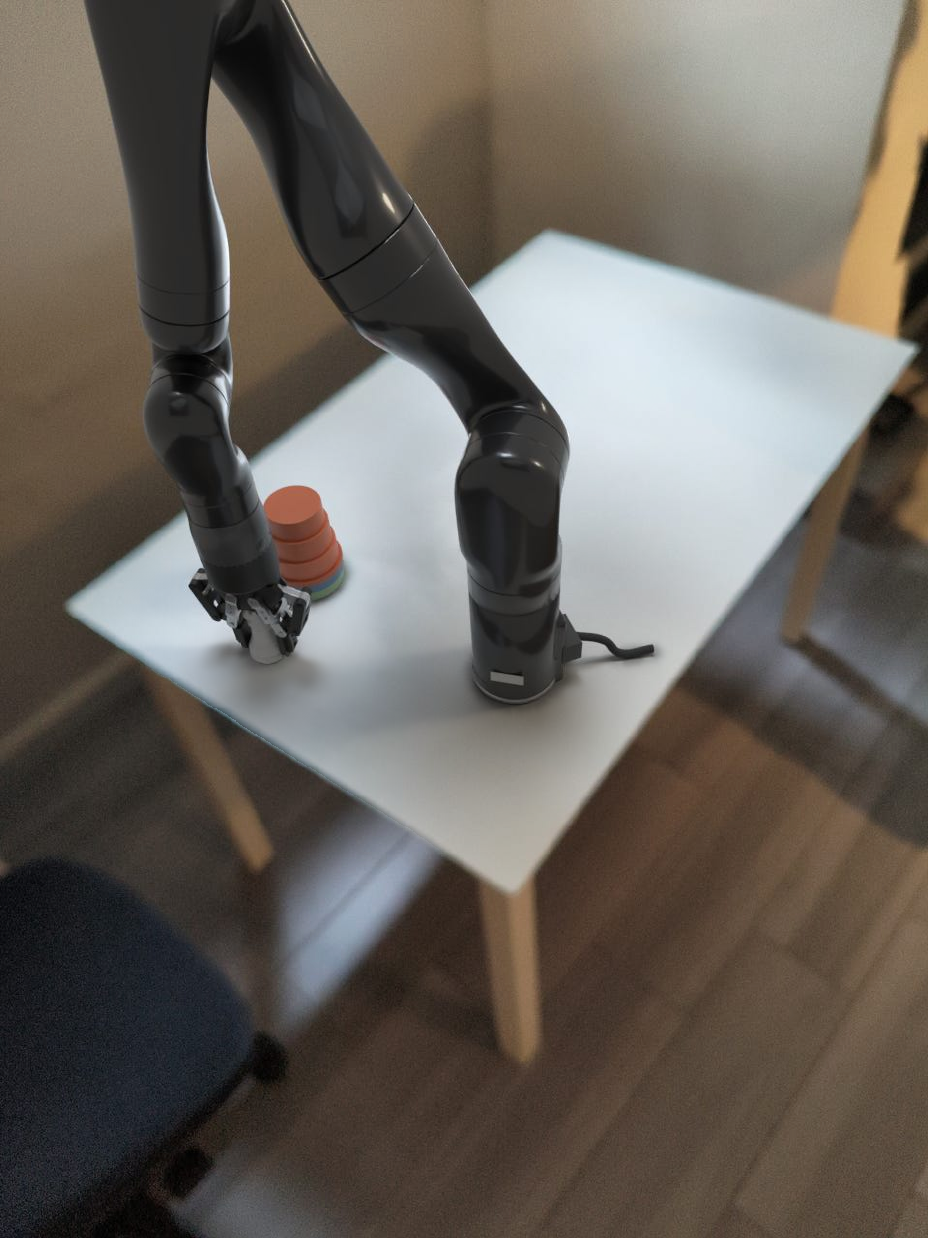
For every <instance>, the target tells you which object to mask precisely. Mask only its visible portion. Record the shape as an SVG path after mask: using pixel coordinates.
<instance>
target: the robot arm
mask: <svg viewBox="0 0 928 1238" xmlns="http://www.w3.org/2000/svg"><path fill="white" fill-rule="evenodd" d="M82 1H83V6H84V10H85V14H86V19H87V23H88V27H89V32H90V36H91V39H92V43H93V47H94V50H95V54H96V59H97V62H98V66H99V71H100V74H101V78H102V82H103V86H104V90H105V95H106V99H107V103H108V108H109V113H110V118H111V122H112V126H113V131H114V135H115V139H116V145H117V150H118V154H119V158H120V163H121V167H122V174H123V179H124V184H125V189H126V190H125V191H126V196H127V203H128V210H129V218H130V226H131V228H130V229H131V236H132V246H133V259H134V271H135V272H134V273H135V282H136V293H137V294H136V295H137V306H138V313H139V319H140V323H141V327H142V329H143V332H144V334H145V335H146V337H147V338H148V339H149V341H150V352H151V354H150V355H151V356H150V357H151V358H150V359H151V362H150V363H151V364H150V365H151V366H150V375H149V380H148V384H147V387H146V392H145V395H144V399H143V403H142V409H141V411H142V412H141V414H142V415H141V417H142V418H141V419H142V425H143V429H144V433H145V437H146V439H147V443H148V444H149V447H150V448H151V450H152V453H153V455H155V457H156V459H157V460H158V461H159V462H160V465H161V466H162V467H163V468H164V470H165V471H166V473H167V475H168V476H169V477H170V478H171V479H172V481H173V482H175V485H176V489H177V492H178V494H179V498H180V500H181V502H182V505H183V509H184V510H185V513H186V517H187V522H188V528H189V531H190V535H191V538H192V540H193V543H194V546H195V548H196V551H197V554H198V557H199V560H200V562H201V565H202V567H199V568H198V569H197V571H195V572H196V573H194V575H193V577H192V578H191V579H190V582H189V583H188V586H187V587H188V589H189V590H190V591H191V592H192V594H193V595H194V597H195V598H196V599H197V601H198V602H199V604H200V605H201V606H202V607H203V609H204V610H205V611H206V613H207V614H208V616H209V617H210V618H211V619H212V620H213V621H214V622H218V623H220V622H221V621H224V622H226V625H227V626H228V627H229V628H231V630H232V632H233V635H234V638H235V640H236V641H237V642H238V643H239V644H240V646H241V648H243V649H247V650H250V649H249V642H250V639H251V635H252V630H251V627H250V626H249V625H248V622H247V620H246V619H245V618H244V617H243V614H242V611H245V610H249V611H255V612H256V613H258V614H259V616H260V617H261V619H262V620H263V622H264V623H265V624H266V625H270V626H271V627H272V629H273V630H274V631H275V633H276V634H277V635H276V638H277V641H278V645H279V648H280V651H281V654H282V655H283V656H284V657H290V655H291V654H293V653H294V651H295V649H296V647H297V645H298V642H299V640H298V637H300V636H301V635H302V633H303V630H304V628H305V626H306V624H307V623H308V620H309V616H310V611H311V605H312V601H311V600H312V594H313V591H312V589H311V588H309V587H306V586H305V587H303V588H302V589H301V591H299V590H296V589H293V588H291V587H288V585H287V582H286V581H285V579H284V578H283V577H282V576H281V574H280V565H279V558H278V554H277V550H276V547H275V543H274V540H273V536H272V533H271V529H270V526H269V522H268V518H267V515H266V512H265V509H264V507H263V505H264V504H263V502H262V501H261V498H260V496H259V492H258V489H257V486H256V481H255V478H254V475H253V472H252V468H251V465H250V462H249V460H248V458H247V456H246V454H245V453H244V451H243V450H242V448H240V447H239V445H237V444H235V443H234V442H232V438H231V432H230V425H229V420H230V412H231V406H232V405H231V404H232V400H233V399H232V398H233V389H234V366H233V365H234V364H233V352H232V344H231V338H230V330H229V326H230V317H231V316H230V315H231V266H230V265H231V264H230V262H231V261H230V248H229V247H230V246H229V239H228V238H229V237H228V231H227V227H226V226H227V225H226V222H225V218H224V214H223V211H222V208H221V203H220V201H219V198H218V195H217V191H216V188H215V183H214V179H213V174H212V170H211V165H210V157H209V156H210V155H209V147H208V146H209V145H208V109H209V100H210V99H209V98H210V90H211V81H213V83H214V84H215V85H216V86H217V88H218V89H219V90H220V92H221V93H222V95H223V96H224V97H225V99H226V100H227V101H228V103H229V104H230V105H231V106H232V108H233V109H234V111H235V112H236V115H238V117H239V119H240V120H241V122H242V124H243V125H244V127H245V129H246V130H247V132H248V134H249V135H250V138H251V140H252V141H253V144H254V146H255V148H256V150H257V152H258V154H259V157H260V159H261V162H262V165H263V167H264V170H265V173H266V175H267V178H268V181H269V183H270V187H271V190H272V191H273V194H274V197H275V200H276V203H277V205H278V206H277V207H278V209H279V211H280V214H281V216H282V219H283V221H284V225H285V227H286V229H287V231H288V234H289V236H290V239H291V241H292V243H293V245H294V247H295V249H296V251H297V252H298V254H299V256H300V258H301V260H302V261H303V263H304V264H305V266H306V267H307V269H308V270H309V272H310V274H311V275H312V276H313V277H314V279H315V280H316V281H317V283H318V284H319V285H320V287H321V288H322V289H323V291H324V292H325V294H326V295H327V297H328V298H329V299H330V300H331V303H333V304H334V306H335V307H336V309H337V310H338V311H339V313H340V314H341V315H342V317H343V318H344V320H346V322H347V323H348V324H349V325H350V326H351V328H353V329H354V331H356V332H357V333H358V334H359V335H361V337H363V338H364V339H366V340H367V341H369V342H370V343H371V344H373V345H375V346H376V347H378V348H380V349H381V350H383V351H384V352H387V353H388V354H390V355H392V356H394V357H396V358H398V359H400V360H401V361H404V362H406V363H407V364H409V365H411V366H413V367H415V369H418V370H419V371H421V372H422V373H423V374H425V375H426V376H427V377H428V378H429V379H430V380H431V382H433V383H434V385H435V386H436V387H437V388H438V390H439V391H440V392H441V393H442V395H443V396H444V397H445V399H446V400H447V401H448V403H449V405H450V406H451V408H452V409H453V411H454V412H455V414H456V415H457V417H458V419H459V420H460V422H461V424H462V426H463V428H464V430H465V432H466V435H467V440H466V443H465V446H464V449H463V452H462V454H461V458H460V460H459V462H458V463H459V464H458V466H457V468H456V472H455V478H454V484H453V486H454V487H453V498H454V510H455V519H456V520H455V521H456V530H457V537H458V544H459V546H458V547H459V550H460V552H461V555H462V556H463V558H464V560H465V563H466V565H465V566H466V578H467V592H468V593H467V595H468V612H469V626H470V628H469V629H470V641H471V644H470V645H471V661H472V663H471V672H472V678H473V681H474V683H475V685H476V687H477V688H478V689H479V690H480V692H482V693H483V694H484V695H485V696H487V697H488V698H489V699H492V700H493V701H496V702H499V703H503V704H508V705H521V704H528V703H531V702H534V701H536V700H538V699H540V698H542V697H543V696H544V695H546V694H547V693H548V692H549V691H550V690H551V689H552V688H553V686H554V685H555V682H557V681H560V680H563V679H564V672H565V664H566V663H569V662H572V661H575V660H578V659H581V658H582V653H583V642H591V643H597V644H601V645H603V646H605V647H606V648H607V650H608V651H609V652H610V654H612V655H613V656H615V657H617V658H622V659H630V658H636V657H640V656H645V655H648V654H653V653H655V646H654V644H653V643H652V644H645V645H642V646H638V647H635V648H628V649H627V648H625V649H624V648H619V647H618V646H617V645H616V644H615V642H614V641H613V640H612V639H611V638H610V637H608V636H605V635H603V634H600V633H595V632H586V631H576V629H575V627H574V626H573V624H572V622H571V620H570V619H569V617H568V615H567V613H563V612H562V610H561V609H560V601H561V581H562V580H561V579H562V564H563V563H562V562H563V541H562V536H561V535H560V517H561V516H560V514H561V513H560V512H561V501H562V494H563V488H564V485H565V481H566V476H567V472H568V467H569V462H570V460H571V459H570V457H571V439H570V435H569V431H568V428H567V426H566V424H565V422H564V420H563V418H562V417H561V415H560V414H559V413H558V411H557V410H556V408H555V406H554V405H552V403H551V402H550V401H549V399H548V398H547V397H546V396H545V394H544V393H543V392H542V391H541V389H540V388H539V387H538V386H537V383H535V382H534V381H533V379H532V378H531V376H529V375H528V373H527V372H526V371H525V370H524V368H523V367H522V366H521V364H520V363H519V362H518V361H517V360H516V358H515V357H514V356H513V354H512V353H511V352H510V351H509V349H508V348H507V347H506V345H505V344H504V343H503V341H502V339H500V337H499V335H498V333H497V332H496V331H495V329H494V328H493V326H492V324H491V323H490V321H489V320H488V318H487V316H486V315H485V313H484V311H483V309H482V308H481V307H480V305H479V304H478V302H477V300H476V299H475V297H474V296H473V294H472V292H471V291H470V290H469V288H468V287H467V285H466V284H465V281H464V280H463V279H462V278H461V276H460V274H459V272H458V271H457V270H456V268H455V266H454V264H453V263H452V262H451V260H450V259H449V256H448V254H447V253H446V251H445V249H444V247H443V246H442V244H441V242H440V240H439V238H438V237H437V236H436V234H435V233H434V231H433V229H432V228H431V226H430V224H428V222H427V220H426V219H425V217H424V215H423V214H422V212H421V211H420V209H419V207H418V206H417V204H416V203H415V202H414V200H413V198H412V197H411V195H410V194H409V191H407V189H406V188H405V186H404V185H403V183H402V182H401V181H400V179H399V178H398V177H397V175H396V174H395V172H394V171H393V169H392V168H391V167H390V164H389V163H388V161H387V160H386V159H385V157H384V155H383V154H382V151H381V150H380V149H379V148H378V146H377V143H375V141H374V140H373V138H372V137H371V135H370V134H369V132H368V130H367V129H366V127H365V126H364V125H363V123H362V122H361V120H360V119H359V117H358V115H357V114H356V113H355V111H354V109H353V108H352V107H351V105H350V103H349V102H348V101H347V99H346V98H345V96H344V95H343V93H342V92H341V91H340V89H339V88H338V86H337V85H336V83H335V82H334V80H333V79H332V77H331V75H330V74H329V72H328V70H327V69H326V67H325V65H324V64H323V62H322V61H321V59H320V57H319V55H318V54H317V51H316V50H315V48H314V47H313V44H312V42H311V41H310V39H309V37H308V35H307V34H306V32H305V30H304V28H303V26H302V24H301V22H300V20H299V18H298V17H297V14H296V13H295V10H294V8H293V7H292V5H291V3H290V1H289V0H82ZM215 601H216V604H217V605H215ZM288 606H289V607H288Z"/></svg>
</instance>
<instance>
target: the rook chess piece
mask: <svg viewBox="0 0 928 1238" xmlns="http://www.w3.org/2000/svg"><path fill="white" fill-rule="evenodd" d="M242 614H243V617H244V618H245V619H246V620H247V622H248V625H249V626H250V627H251V630H252V635H251V639H250V642H249V649H248V650H249V653H250V656H251V658H252V659H253V660H254V661H256V662H258V663H261V664H264V665H268V664H269V665H270V664H274V663H277V662H279V661H281V660H282V659H283V658H284V657H285V656H283V655H282V654H281V651H280V648H279V645H278V641H277V638H276V635H277V634H276V633H275V631H274V630H273V629H272V627H271V626H270V625H266V624H265V623H264V622H263V620H262V619H261V617H260V616H259V614H258V613H256V612H255V611H249V610H245V611H242Z"/></svg>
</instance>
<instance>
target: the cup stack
mask: <svg viewBox="0 0 928 1238" xmlns="http://www.w3.org/2000/svg"><path fill="white" fill-rule="evenodd" d="M262 505H263V507H264V509H265V512H266V515H267V518H268V522H269V526H270V529H271V533H272V536H273V540H274V543H275V547H276V550H277V554H278V558H279V565H280V574H281V576H282V577H283V578H284V579H285V581H286V582H287V585H288V587H291V588H293V589H296V590H299V591H301V589H302V588H303V587H305V586H306V587H309V588H311V589H312V591H313V594H312V600H311V602H314V601H317V600H320V599H323V598H326V597H328V596H329V595H330V594H332V593H334V592H335V591H336V590H337V589H338V588H339V587H340V585H341V584H342V582H343V580H344V577H345V571H344V553H343V548H342V545H341V543H340V542H339V541H338V539H337V535H336V531H335V530H334V528H333V527H332V525H331V523H330V519H329V515H328V513H327V511H326V509H325V508H323V502H322V497H321V496H320V494H319V492H318V491H317V490H315V489H313V488H312V487H309V486H306V485H298V484H297V485H296V484H295V485H294V484H293V485H288V486H283V487H281V488H279V489H277V490H275V491H272V492H271V494H269V495H268V496H267V497H266V498H265V500H264V502H263V504H262Z"/></svg>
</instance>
